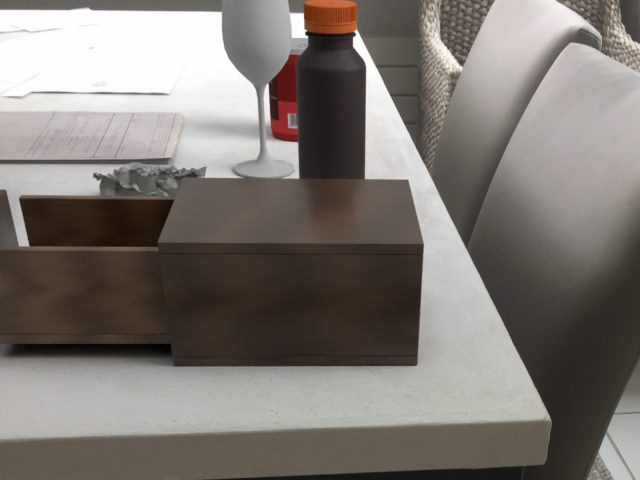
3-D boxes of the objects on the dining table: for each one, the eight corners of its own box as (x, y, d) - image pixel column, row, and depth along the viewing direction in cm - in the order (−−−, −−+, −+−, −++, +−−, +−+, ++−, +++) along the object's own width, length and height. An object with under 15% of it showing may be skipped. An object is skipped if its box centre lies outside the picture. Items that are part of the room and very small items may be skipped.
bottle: (374, 214, 96) (378, 1, 83) (348, 234, 91) (349, 11, 78) (317, 205, 98) (312, -5, 85) (288, 224, 92) (280, 4, 80)
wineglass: (230, 161, 109) (215, -39, 97) (293, 159, 111) (286, -39, 98) (234, 180, 103) (218, -30, 91) (299, 178, 105) (293, -30, 92)
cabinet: (173, 366, 68) (157, 242, 62) (195, 287, 79) (183, 177, 73) (417, 365, 69) (424, 243, 63) (403, 288, 80) (408, 179, 75)
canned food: (341, 135, 120) (341, 44, 113) (296, 145, 116) (292, 51, 109) (304, 123, 124) (302, 35, 118) (259, 133, 120) (254, 41, 113)
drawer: (-129, 352, 66) (-166, 250, 62) (-67, 280, 77) (-94, 188, 72) (199, 351, 68) (188, 251, 63) (216, 280, 78) (208, 190, 74)
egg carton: (93, 213, 94) (86, 173, 91) (124, 190, 100) (119, 152, 97) (188, 222, 92) (184, 182, 90) (215, 199, 98) (211, 160, 96)
